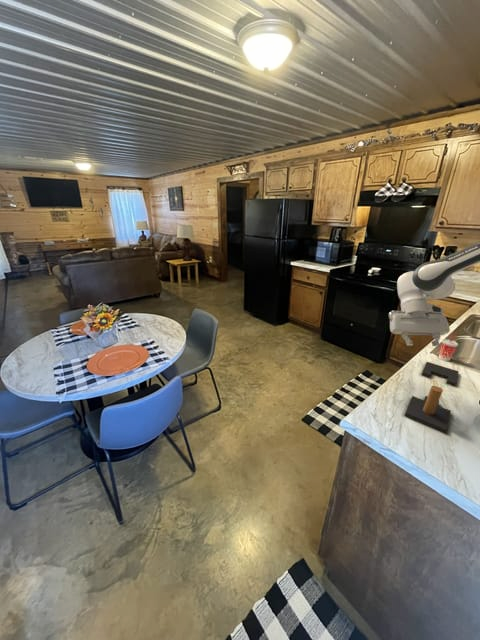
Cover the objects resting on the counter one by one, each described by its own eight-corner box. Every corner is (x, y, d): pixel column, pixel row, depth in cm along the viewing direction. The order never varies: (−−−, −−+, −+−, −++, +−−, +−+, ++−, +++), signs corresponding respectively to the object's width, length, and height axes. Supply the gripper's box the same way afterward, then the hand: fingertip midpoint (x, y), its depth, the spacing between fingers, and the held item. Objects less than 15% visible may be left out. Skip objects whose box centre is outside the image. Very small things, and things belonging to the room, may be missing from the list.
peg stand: (413, 394, 104) (421, 370, 99) (450, 408, 97) (461, 382, 92) (404, 415, 93) (412, 389, 89) (445, 433, 86) (457, 405, 81)
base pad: (425, 364, 124) (426, 361, 124) (457, 374, 117) (458, 371, 116) (421, 375, 116) (422, 372, 115) (455, 386, 109) (456, 383, 108)
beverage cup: (455, 361, 127) (465, 335, 121) (443, 362, 126) (453, 336, 120) (445, 354, 132) (454, 329, 127) (433, 355, 132) (442, 330, 126)
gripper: (392, 307, 99) (398, 342, 94) (447, 308, 98) (457, 343, 93) (384, 313, 105) (390, 347, 100) (436, 315, 104) (444, 348, 99)
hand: (423, 345), depth 97 cm, fingers open, 8 cm apart
